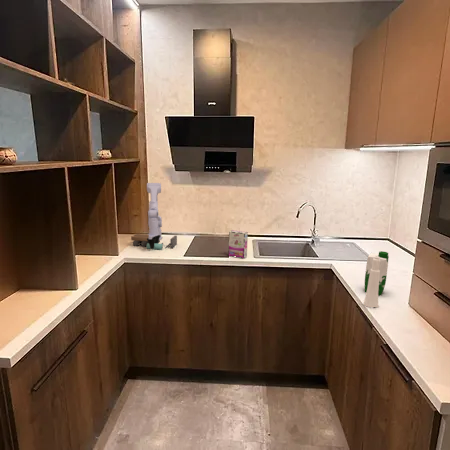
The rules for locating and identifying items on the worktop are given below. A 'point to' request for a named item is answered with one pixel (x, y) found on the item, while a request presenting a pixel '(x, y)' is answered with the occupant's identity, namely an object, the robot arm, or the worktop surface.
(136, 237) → the slab
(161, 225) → the robot arm
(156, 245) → the roller
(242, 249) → the candy bar box
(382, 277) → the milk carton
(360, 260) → the worktop surface
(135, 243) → the roller bed
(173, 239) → the bar
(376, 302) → the cosmetic bottle
